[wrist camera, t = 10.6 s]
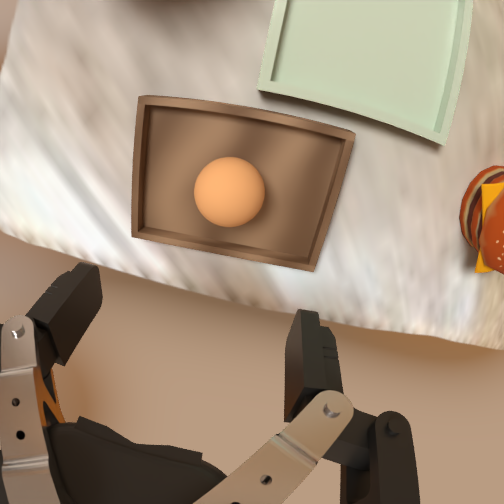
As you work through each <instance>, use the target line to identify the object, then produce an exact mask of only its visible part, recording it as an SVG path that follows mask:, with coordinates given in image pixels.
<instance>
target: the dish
mask: <svg viewBox="0 0 504 504" xmlns="http://www.w3.org/2000/svg"><path fill="white" fill-rule="evenodd" d="M472 10H473V0H275V3H274V8H273V12H272V17H271V21H270V26H269V31H268V35H267V40H266V45H265V50H264V54H263V59H262V64H261V69H260V74H259V79H258V84H257V90H263V91H268V92H273V93H278V94H283V95H288V96H292V97H297V98H301V99H305V100H310V101H314V102H318V103H321V104H325V105H329V106H333V107H336V108H340V109H343V110H347V111H350V112H354V113H357V114H360V115H363V116H366V117H369V118H373V119H376V120H379V121H381V122H384V123H387V124H390V125H393V126H396V127H398V128H401V129H404V130H406V131H409V132H412V133H414V134H417V135H419V136H422V137H424V138H427V139H429V140H432V141H434V142H436V143H439V144H441V145H443V146H445V144H446V141H447V137H448V134H449V130H450V127H451V123H452V120H453V116H454V112H455V108H456V104H457V100H458V95H459V91H460V86H461V82H462V77H463V72H464V67H465V61H466V55H467V49H468V43H469V36H470V28H471V20H472Z"/></svg>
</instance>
